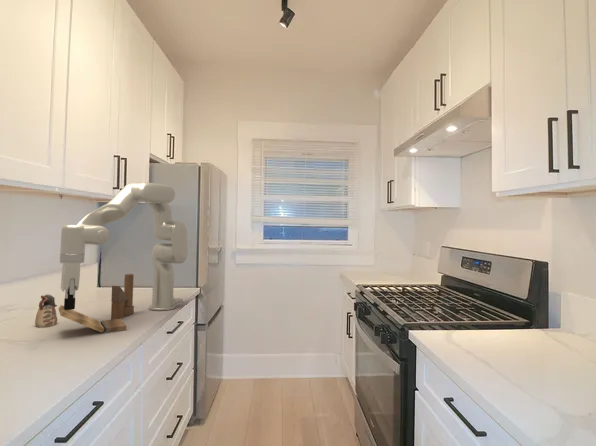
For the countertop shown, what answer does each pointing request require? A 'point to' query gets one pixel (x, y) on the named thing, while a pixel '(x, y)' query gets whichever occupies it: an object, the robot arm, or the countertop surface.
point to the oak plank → (81, 319)
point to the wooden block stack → (122, 299)
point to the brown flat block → (113, 325)
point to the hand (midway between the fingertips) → (69, 309)
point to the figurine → (46, 312)
